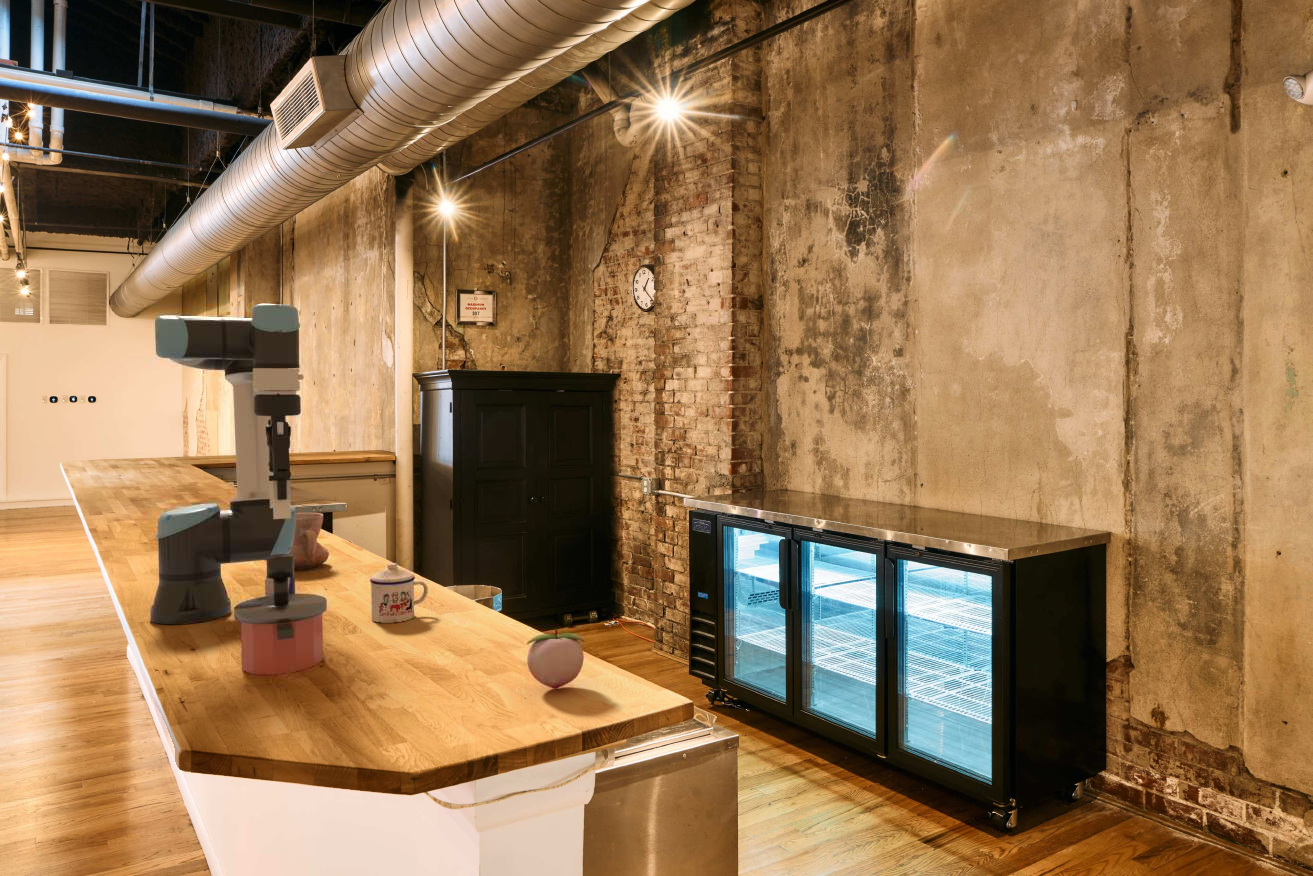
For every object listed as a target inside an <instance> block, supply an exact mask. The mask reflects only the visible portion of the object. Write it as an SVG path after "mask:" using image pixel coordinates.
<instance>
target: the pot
mask: <svg viewBox="0 0 1313 876" xmlns="http://www.w3.org/2000/svg"><path fill="white" fill-rule="evenodd" d="M240 638H241V640H240V642H241V643H240V644H241V647H240V648H241V649H240V650H241V668H242V669H241V670H243V672H245V671H246V673H249V674H253V675H265V674H266V675H271V676H272V675H273V676H274V675H281V674H282V673H283V674H288V673H295V672H296V671H297V672H300V671H303V670H306V669H310V668H312V666H313V667H315V666H317V665H318V664H319V663H321V662H322V661H324V647H323V646H324V640H323V639H324V638H323V613H322V614H320V615H317V616H315V617H312V618H308V619H304V620H299V621H293V622H286V623H276V624H251V623H244V622H240ZM320 661H321V662H320ZM317 663H318V664H317ZM309 667H310V668H309ZM305 668H306V669H305ZM302 669H303V670H302ZM299 670H300V671H299ZM297 672H296V673H297Z"/></svg>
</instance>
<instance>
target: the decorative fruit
mask: <svg viewBox="0 0 1313 876" xmlns="http://www.w3.org/2000/svg"><path fill="white" fill-rule="evenodd" d="M554 631H555V633H554V635H553V634H549V633H542V634H538V635H535V636H533V638H531V639H530V640H528V642H527V643H526V645H529V644H531V643H532V644H531V645H530V647H529V649H528V653H527V659H526V660H527V667H528V670H529V672H530V674H531V675H532V677H533V678H534V679H535V680H536V681H538V683H540V684H542V685H543V686H546V687H548V688H551V689H554V688H558V689H559V688H560V687H564V686H566V685H567V684H569V683H571V682H573V681H574V680H575V679H576V678H577V677H578V676H579V674H580V672H581V670H582V667H583V664H584V655H585V654H584V650H583V647H582V644H581V643H580V642H579V641H581V642H583V643H586V641H585V640H584V638H582V637H581V636H580V635H578V634H575V633H572V632H563V633H560V634H558V628H557V627H556V628H555V630H554Z"/></svg>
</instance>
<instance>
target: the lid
mask: <svg viewBox="0 0 1313 876" xmlns="http://www.w3.org/2000/svg"><path fill="white" fill-rule="evenodd" d="M266 576H267V578H270V579H273V588H274V595H272V596H260V597H255V598H251V599H249V600H245V601H243V602H242V601H241V602H240V603H238V604H236V605H235V606H234V609H233V613H234V614H233V617H234V619H235V621H238V622H240V623H241V622H244V623H251V624H276V623H286V622H293V621H299V620H304V619H308V618H312V617H315V616H317V615H320V614H322V615H323V613H325V612H326V611H327V610H328V603H327V601H328V600H327V598H326V597H325V596H322V595H319V594H312V593H295V594H288V577H292V576H294V577H295V569H294V555H292V554H276V555H271V556H267V560H266Z"/></svg>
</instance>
